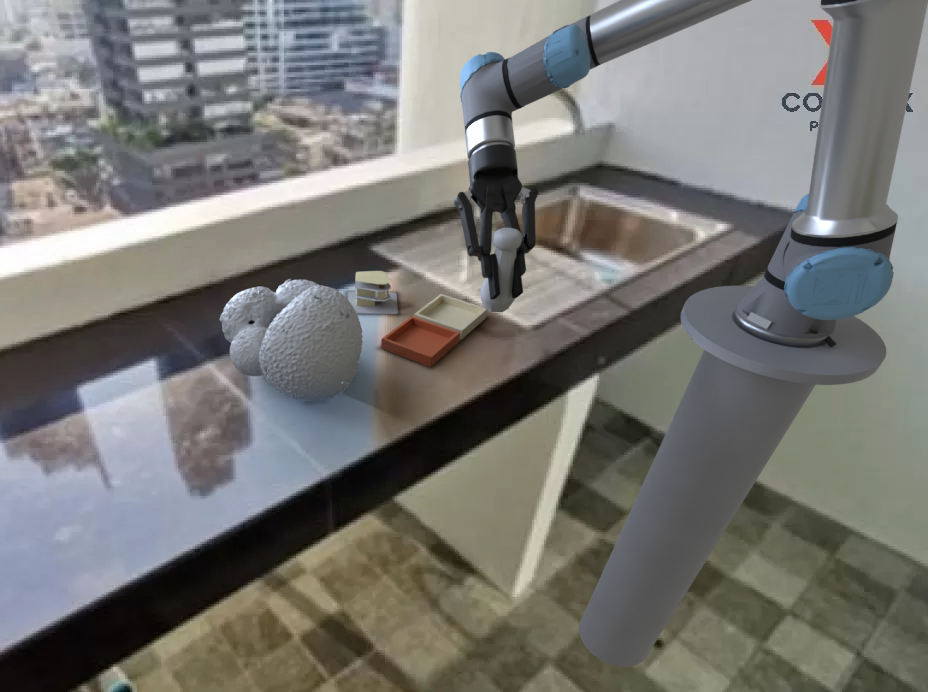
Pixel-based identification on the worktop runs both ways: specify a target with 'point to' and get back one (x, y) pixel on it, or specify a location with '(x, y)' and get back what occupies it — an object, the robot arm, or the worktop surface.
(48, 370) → the worktop surface
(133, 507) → the worktop surface
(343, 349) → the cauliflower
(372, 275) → the stacked layers on plate
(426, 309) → the ivory tray
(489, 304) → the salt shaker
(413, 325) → the terracotta tray
